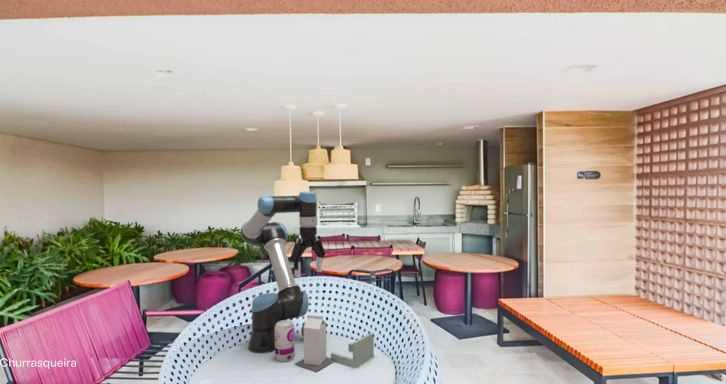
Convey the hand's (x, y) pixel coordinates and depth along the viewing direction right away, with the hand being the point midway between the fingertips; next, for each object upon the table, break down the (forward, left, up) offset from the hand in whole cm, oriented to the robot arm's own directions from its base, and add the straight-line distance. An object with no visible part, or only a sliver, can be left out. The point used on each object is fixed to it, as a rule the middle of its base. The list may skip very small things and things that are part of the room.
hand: (308, 274), depth 168 cm
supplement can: (-5, -10, -35) cm, 37 cm away
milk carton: (+9, -6, -34) cm, 36 cm away
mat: (+9, -6, -35) cm, 36 cm away
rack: (+19, +6, -35) cm, 40 cm away
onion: (-10, +12, -35) cm, 38 cm away
